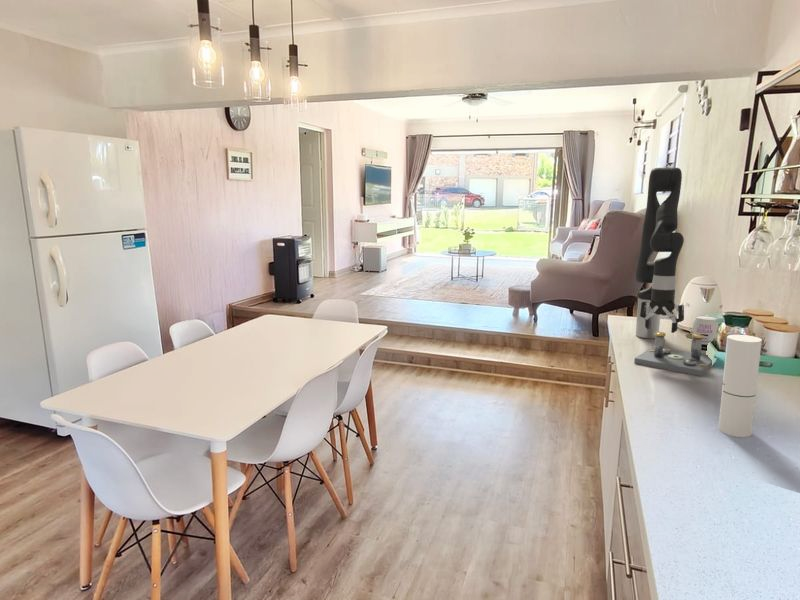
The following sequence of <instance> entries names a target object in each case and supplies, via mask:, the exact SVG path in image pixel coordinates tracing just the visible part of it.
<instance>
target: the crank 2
mask: <svg viewBox="0 0 800 600" xmlns="http://www.w3.org/2000/svg"><path fill="white" fill-rule="evenodd" d="M702 338H703V335H701V334H691V343H692V349H691V348H690V353H691V358H690V359H684V360H683V364H685V365H688V366H695V365H696V360H699V359H700V357H701V345H702Z"/></svg>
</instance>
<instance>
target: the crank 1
mask: <svg viewBox="0 0 800 600" xmlns="http://www.w3.org/2000/svg"><path fill="white" fill-rule="evenodd" d="M665 336H666V332H664V331H659V332H655V338H654V347H655V348H654V356H656V357H663V355H664V354H671V350H670V349H671V348H667V347H665Z"/></svg>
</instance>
